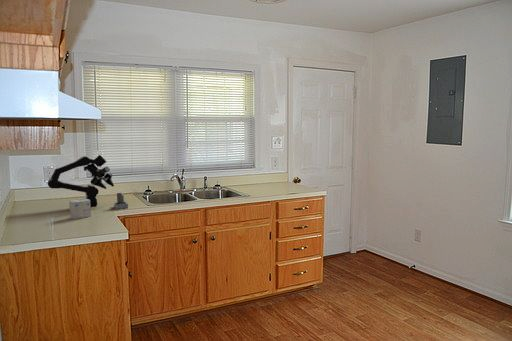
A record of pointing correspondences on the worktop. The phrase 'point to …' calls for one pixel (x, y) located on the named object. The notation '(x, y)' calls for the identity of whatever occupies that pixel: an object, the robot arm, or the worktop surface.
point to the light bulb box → (80, 208)
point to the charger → (120, 198)
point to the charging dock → (120, 205)
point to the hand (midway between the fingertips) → (109, 187)
